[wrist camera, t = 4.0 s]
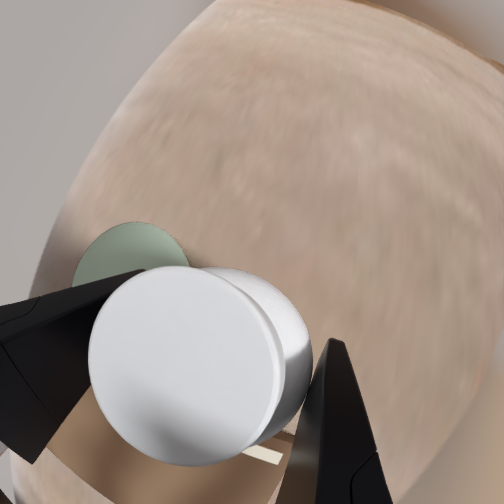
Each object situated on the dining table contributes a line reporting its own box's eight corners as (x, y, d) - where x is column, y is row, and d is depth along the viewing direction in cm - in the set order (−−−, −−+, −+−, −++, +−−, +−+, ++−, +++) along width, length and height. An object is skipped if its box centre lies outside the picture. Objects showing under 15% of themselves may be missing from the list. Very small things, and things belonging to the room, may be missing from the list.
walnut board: (298, 437, 12) (298, 446, 11) (233, 549, 10) (228, 560, 8) (68, 320, 16) (55, 318, 15) (43, 431, 14) (32, 433, 12)
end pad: (191, 380, 14) (188, 381, 13) (70, 356, 15) (66, 356, 15) (200, 220, 16) (198, 217, 16) (85, 229, 18) (81, 227, 17)
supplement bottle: (181, 345, 14) (36, 338, 5) (255, 278, 15) (186, 178, 6) (248, 422, 13) (170, 528, 3) (328, 353, 13) (388, 379, 4)
